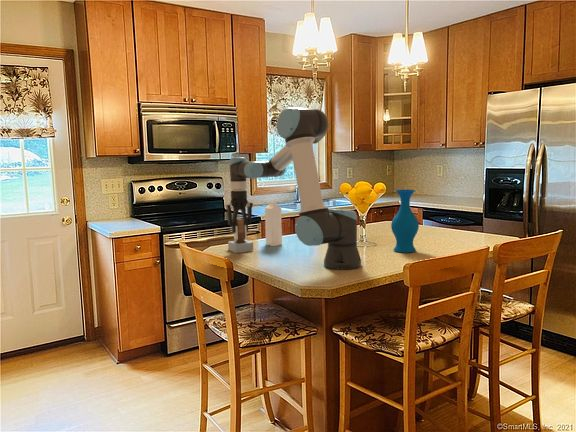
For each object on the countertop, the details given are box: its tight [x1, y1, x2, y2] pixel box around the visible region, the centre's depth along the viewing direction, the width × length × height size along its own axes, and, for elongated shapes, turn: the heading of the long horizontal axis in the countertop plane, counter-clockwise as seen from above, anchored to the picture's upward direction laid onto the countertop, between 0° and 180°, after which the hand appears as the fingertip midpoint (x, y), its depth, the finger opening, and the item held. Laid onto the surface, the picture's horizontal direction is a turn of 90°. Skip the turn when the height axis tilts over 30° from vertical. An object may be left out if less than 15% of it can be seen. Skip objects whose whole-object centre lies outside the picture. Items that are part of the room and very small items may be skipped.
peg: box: [235, 218, 246, 244], centre depth 225 cm, size 4×4×12 cm
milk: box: [264, 200, 283, 247], centre depth 237 cm, size 6×6×22 cm
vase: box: [390, 189, 420, 254], centre depth 215 cm, size 12×13×28 cm
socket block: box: [227, 239, 254, 254], centre depth 226 cm, size 9×9×4 cm
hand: (240, 238), depth 225 cm, fingers closed on peg, 4 cm apart
